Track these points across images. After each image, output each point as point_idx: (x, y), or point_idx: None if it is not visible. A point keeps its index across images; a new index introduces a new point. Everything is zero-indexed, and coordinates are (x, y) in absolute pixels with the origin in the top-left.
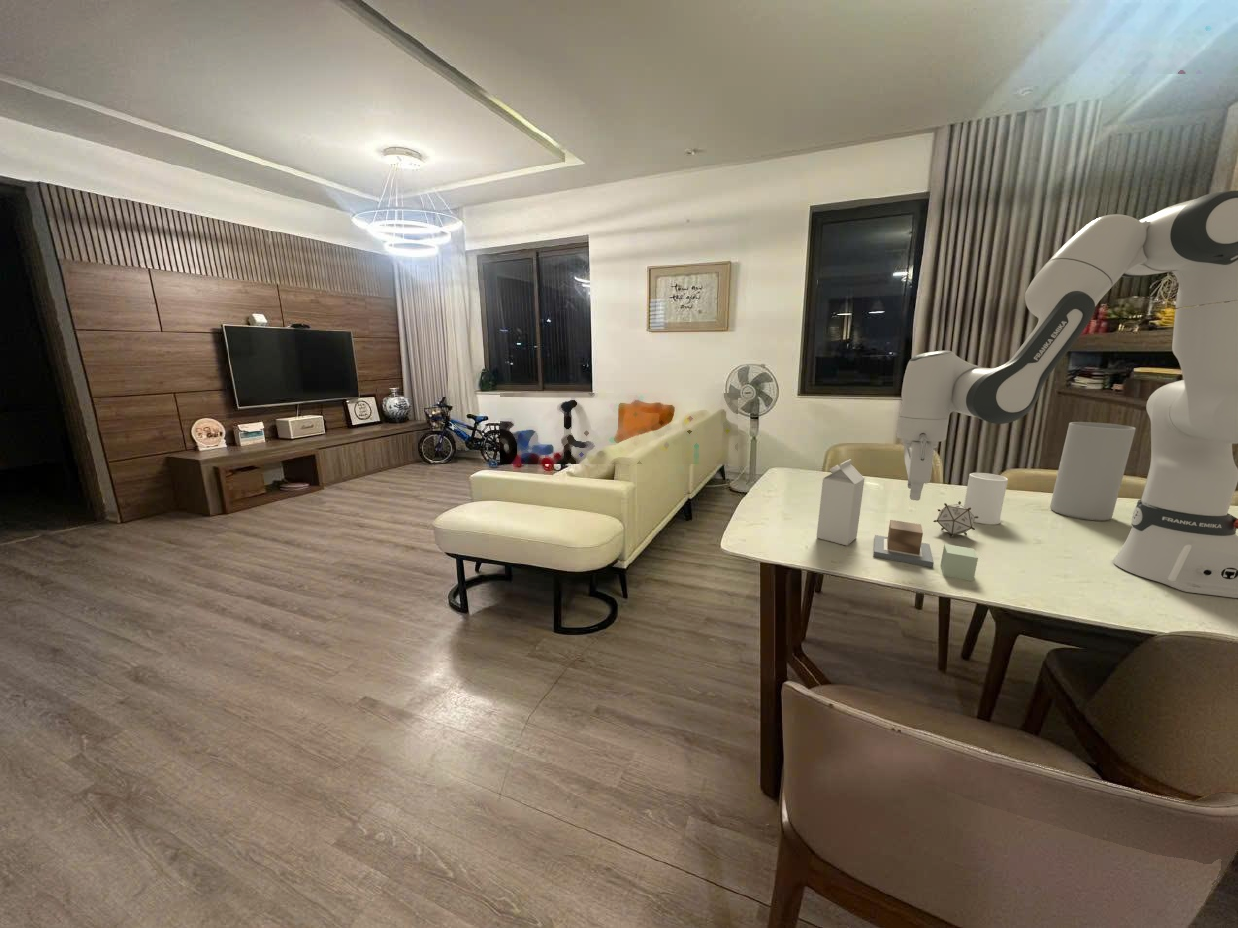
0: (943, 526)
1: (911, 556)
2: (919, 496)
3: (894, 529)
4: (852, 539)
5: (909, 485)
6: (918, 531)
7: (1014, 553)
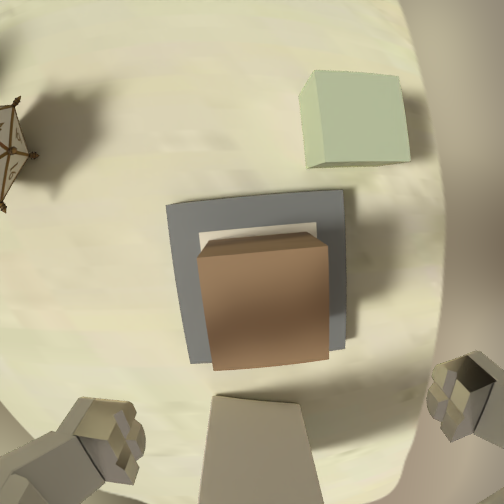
0: (13, 180)
1: (330, 252)
2: (489, 364)
3: (327, 345)
4: (256, 403)
5: (139, 450)
6: (314, 263)
7: (85, 18)
